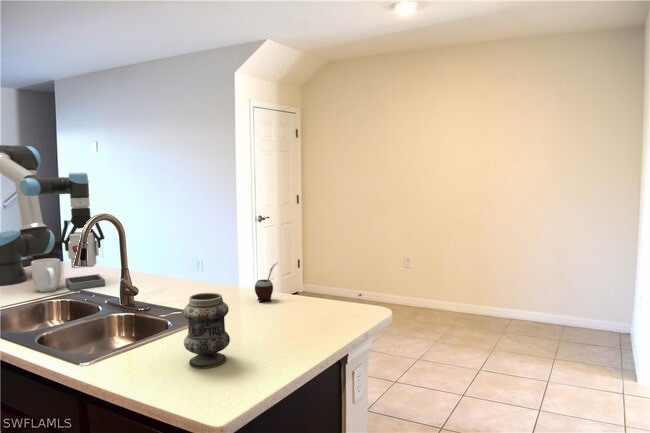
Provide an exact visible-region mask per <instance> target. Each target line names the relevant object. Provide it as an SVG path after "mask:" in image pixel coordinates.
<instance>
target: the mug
mask: <svg viewBox="0 0 650 433" xmlns="http://www.w3.org/2000/svg"><path fill="white" fill-rule="evenodd" d="M30 266H31V267H30V268H31V276H32V281H33V284H34V287H35V288H36V289H37V291H38V292H41V293H47V292H53V291H56V290H57V289H58V287H59V285H60V282H61V279H62V278H61V277H62V268H61V267H62V266H61V259H60V258H49V257H48V258H41V259H36V260H35V259H34V260H32V261H31V262H30Z"/></svg>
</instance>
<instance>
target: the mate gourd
mask: <svg viewBox="0 0 650 433" xmlns="http://www.w3.org/2000/svg"><path fill="white" fill-rule="evenodd" d="M277 264H278V261H276V262H275V263H274V264H273V265H272V266H271V268H270V270H269V274H268V277H267V279H258V280H257V281H256V282H255V284H254V292H255V295H256V296H257V301H258V303H259V304H262V303H264V302H267V303H272V300H271V299H272V294H273V291H274V286H273V285H274V284H273V282H272V281H271V280H270V277H271V273H272V271H273V268H275V267H276V265H277Z"/></svg>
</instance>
